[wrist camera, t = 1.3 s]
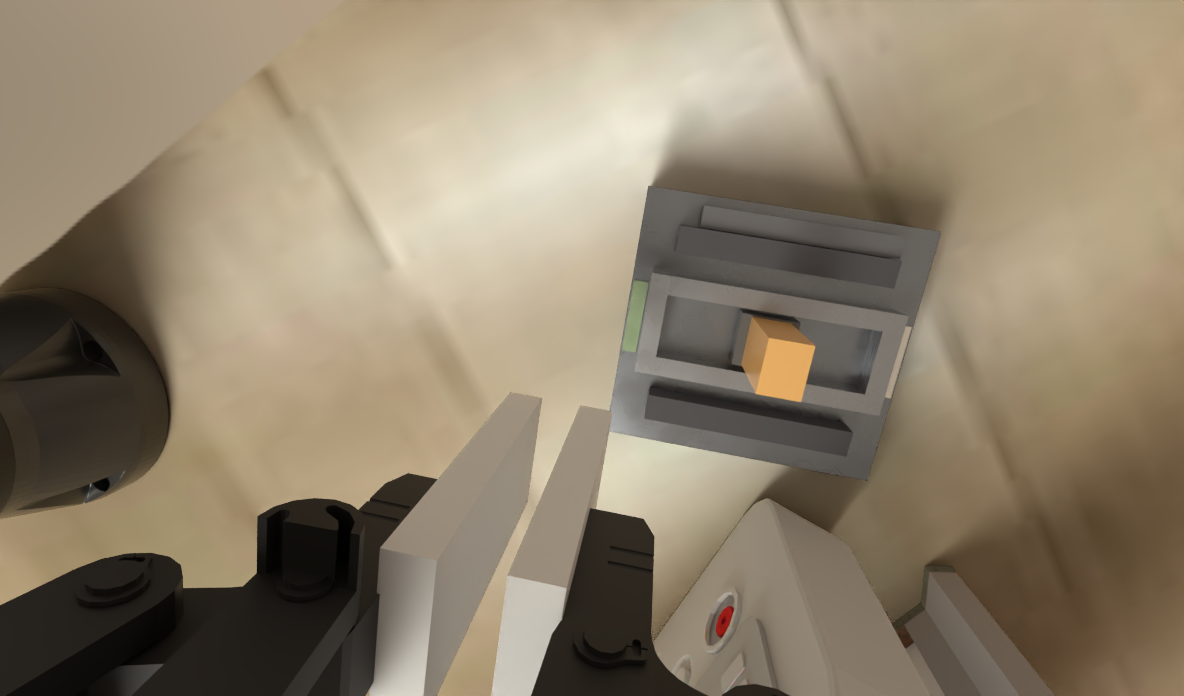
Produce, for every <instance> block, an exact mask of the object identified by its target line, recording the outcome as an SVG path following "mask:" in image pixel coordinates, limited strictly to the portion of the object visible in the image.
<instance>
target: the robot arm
mask: <svg viewBox="0 0 1184 696" xmlns="http://www.w3.org/2000/svg"><path fill="white" fill-rule="evenodd" d="M541 402H542V398H539V397H533V396H528V395H523V394H517V393H512V392H510V394H509V395H508V396H507V397H506V398H505V400H504V401H503V402H502V403H501V404H500V406H499V407H498V408H497V409H496V410H495V412H494V413H493V414H492V415H491V416H490V418H489V419H488V420H487V421H486V422H485V423H484V425H483V426H482V427H481V428H480V429H479V431H478V432H477V433H476V434H475V435H474V437H473V438H472V439H471V440H470V441H469V443H468V444H467V445H466V446H465V447H464V449H463V450H462V451H461V452H460V453H459V454H458V456H457V457H456V458H455V459H454V460H453V462H452V463H451V464H450V465H449V466H448V468H447V469H446V470H445V471H444V472H443V474H442V475H441V476H440V477H439V478H438V479H434V478H429V477H424V476H419V475H414V474H409V473H408V474H406V475H403V476H401V477H399V478H397V479H394V480H392V481H390V482H388V483H386V484H384V485H383V486H382V487H381V488H380V489H379V490H378V491H377V492H376V493H375V494H374V495H373V496H372V497H371V498H370V501H367V502H366V503H365V504H364V505H363V506H362V507H361V508H360V509H359V510H357V509H356V508H355V507H353V506H352V505H350V504H347V503H344V502H341V501H337V500H332V499H318V498H313V499H305V500H296V501H291V502H288V503H285V504H281V505H278V506H275V507H273V508H271V509H269V510H268V511H266V512H264V513H262V514H261V515H259V516H258V524H257V574H255V575H254V576H253V577H252V578H251V579H250V580H249V581H248V582H247V583H246V584H245V585H244V586H243V587H232V588H183V575H182V570H181V565H180V564H178V563H177V562H176V561H174V560H173V559H172V558H170V557H168V556H163V555H158V554H154V553H131V554H122V555H119V556H114V557H109V558H104V559H100V560H98V561H95V562H92V563H90V564H87V565H85V566H82V567H79V568H77V569H75V570H72V571H70V572H68V573H66V574H64V575H62V576H60V577H58V578H56V579H54V580H52V581H50V582H48V583H46V584H43V585H41V586H39V587H37V588H35V589H33V590H31V591H29V592H27V593H25V594H23V595H21V596H19V597H17V598H15V599H12V600H10V601H8V602H6V603H4V604H2V605H0V696H365V695H366V694H367V692H368V690H369V689H370V694H369V696H437V694H438V692H439V689H440V687H441V685H442V683H443V681H444V679H445V677H446V675H447V672H448V670H449V668H450V666H451V664H452V662H453V660H454V657H455V655H456V653H457V651H458V649H459V647H460V645H461V643H462V640H463V638H464V636H465V634H466V632H467V630H468V628H469V625H470V623H471V621H472V619H473V617H474V615H475V613H476V611H477V608H478V606H479V604H480V602H481V600H482V598H483V596H484V593H485V591H486V589H487V587H488V585H489V583H490V581H491V579H492V576H493V574H494V572H495V570H496V568H497V566H498V564H499V561H500V559H501V557H502V555H503V553H504V551H505V549H506V547H507V544H508V542H509V540H510V538H511V536H512V534H513V532H514V529H515V527H516V525H517V523H518V521H519V519H520V517H521V515H522V512H523V510H524V508H525V506H526V504H527V502H528V495H529V487H530V480H531V473H532V466H533V459H534V452H535V445H536V437H537V430H538V423H539V416H540V409H541ZM611 417H612V411H608V410H602V409H597V408H592V407H586V406H581V405H580V408H579V410H578V412H577V415H576V417H575V419H574V422H573V424H572V426H571V429H570V431H569V433H568V436H567V438H566V440H565V443H564V445H563V447H562V450H561V452H560V454H559V457H558V459H557V461H556V464H555V466H554V468H553V471H552V473H551V475H550V478H549V480H548V482H547V485H546V487H545V489H544V492H543V494H542V496H541V499H540V501H539V503H538V506H537V508H536V510H535V513H534V515H533V517H532V520H531V522H530V524H529V527H528V529H527V531H526V534H525V536H524V538H523V541H522V543H521V545H520V548H519V550H518V552H517V555H516V557H515V559H514V562H513V564H512V566H511V569H510V571H509V573H508V576H507V584H506V591H505V599H504V606H503V613H502V621H501V628H500V635H499V643H498V650H497V658H496V665H495V672H494V680H493V687H492V695H491V696H708V695H706V694H704V693H702V692H700V691H698V690H696V689H694V688H692V687H691V686H689V685H687V684H686V683H684V682H683V681H681V680H679V679H678V678H677V677H676V676H675V675H674V674H673V673H671V672H670V671H669V670H668V669H667V668H666V667H665V665H664V664H663V663H662V661H661V660H660V659H659V657H658V656H657V653H656V651H655V648H654V644H653V643H652V636H651V622H652V592H653V561H654V558H653V556H654V535H653V534H652V532H651V530H650V529H649V527H648V525H647V524H646V522H645V520H644V519H641V518H636V517H631V516H626V515H621V514H617V513H612V512H607V511H602V510H597V509H596V504H597V498H598V492H599V486H600V481H601V475H602V469H603V463H604V457H605V452H606V446H607V440H608V434H609V428H610V423H611ZM167 429H168V404H167V397H166V392H165V388H164V384H163V381H162V378H161V376H160V373H159V371H158V368H157V366H156V364H155V362H154V360H153V358H152V356H151V355H150V353H149V351H148V350H147V348H146V347H145V345H144V344H143V343H142V341H141V340H140V339H139V337H138V336H137V335H136V334H135V333H134V331H133V330H132V329H131V328H130V327H129V326H128V325H127V324H126V323H125V322H124V321H123V320H122V319H121V318H119V317H118V316H117V315H116V314H114V313H113V312H112V311H110V310H109V309H108V308H106V307H105V306H103V305H101V304H100V303H98V302H96V301H94V300H92V299H90V298H88V297H86V296H84V295H81V294H78V293H75V292H72V291H68V290H64V289H57V288H34V289H26V290H18V291H10V292H3V293H0V519H3V518H9V517H14V516H20V515H25V514H30V513H36V512H41V511H47V510H52V509H57V508H63V507H68V506H74V505H79V504H84V503H88V502H92V501H95V500H98V499H101V498H103V497H105V496H108V495H110V494H111V493H113V492H115V491H117V490H119V489H121V488H123V487H125V486H127V485H129V484H131V483H133V482H135V481H136V480H138V479H139V478H141V477H142V476H143V475H144V474H145V473H146V472H147V471H148V470H149V469H150V468H151V467H152V466H153V464H154V463H155V462H156V460H157V458H158V457H159V455H160V453H161V451H162V448H163V446H164V443H165V439H166V435H167ZM722 696H790V695H788V694H786V693H784V692H782V691H780V690H778V689H776V688H771V687H767V686H762V685H758V684H749V685H740V686H735V687H734V688H732V689H730V690H729V691H727V692H726V693H724V694H722Z"/></svg>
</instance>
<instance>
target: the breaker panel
mask: <svg viewBox="0 0 1184 696" xmlns="http://www.w3.org/2000/svg"><path fill="white" fill-rule="evenodd" d="M703 205H705V206H711V207H718V208H724V209H730V210H737V211H743V212H750V213H756V214H762V215H769V216H775V217H781V218H788V219H794V220H800V221H807V222H813V223H819V224H826V225H832V226H838V227H845V228H851V229H857V230H864V231H870V232H876V233H883V234H889V235H895V236H902V237H906V241H905V244H904V248H903V251H902V255H901V258H900V259H896V260H900V261H902V263H901V267H900V270H899V274H898V277H897V281H896V285H895V288H894V289H892V288H886V287H880V286H874V285H868V284H862V283H856V282H850V281H844V280H838V279H832V278H826V277H820V276H813V275H807V274H801V273H795V272H789V271H783V270H777V269H771V268H765V267H759V266H753V265H747V264H741V263H735V262H729V261H722V260H716V259H710V258H704V257H698V256H692V255H686V254H680V253H675V248H676V243H677V238H678V232H679V227H680V225H686V226H692V227H698V228H702V227H699V224H700V219H701V213H702V208H703ZM705 229H708V228H705ZM711 230H714V229H711ZM717 231H720V230H717ZM723 232H726V231H723ZM729 233H733V232H729ZM736 234H739V233H736ZM742 235H745V234H742ZM940 235H941V232H940V231H934V230H927V229H921V228H915V227H908V226H902V225H895V224H889V223H883V222H876V221H870V220H863V219H857V218H851V217H844V216H838V215H831V214H825V213H819V212H812V211H806V210H799V209H793V208H787V207H780V206H774V205H767V204H761V203H755V202H748V201H742V200H735V199H729V198H723V197H716V196H710V195H703V194H697V193H691V192H684V191H678V190H671V189H665V188H659V187H652V186H648V191H647V197H646V203H645V209H644V214H643V220H642V226H641V232H640V238H639V244H638V249H637V255H636V261H635V267H634V273H633V279H632V284H631V290H630V296H629V302H628V308H627V314H626V319H625V325H624V331H623V337H622V343H621V348H620V354H619V360H618V366H617V372H616V378H615V383H614V389H613V395H612V401H611V407H610V411H612V417H611V423H610V428H609V432H614V433H620V434H625V435H630V436H635V437H641V438H646V439H651V440H656V441H661V442H667V443H672V444H677V445H682V446H688V447H693V448H698V449H703V450H709V451H714V452H719V453H724V454H729V455H735V456H740V457H745V458H750V459H756V460H761V461H766V462H771V463H776V464H782V465H787V466H792V467H797V468H803V469H808V470H813V471H818V472H824V473H829V474H834V475H839V476H844V477H850V478H855V479H860V480H865V481H867V480H868V476H869V473H870V470H871V466H872V463H873V460H874V456H875V453H876V450H877V446H878V443H879V440H880V436H881V433H882V429H883V426H884V423H885V419H886V416H887V413H888V409H889V406H890V403H891V399H892V396H893V392H894V389H895V386H896V382H897V379H898V376H899V372H900V369H901V366H902V362H903V359H904V355H905V352H906V349H907V345H908V342H909V339H910V335H911V332H912V329H913V325H914V322H915V319H916V315H917V312H918V308H919V305H920V302H921V298H922V295H923V292H924V288H925V285H926V282H927V278H928V275H929V271H930V268H931V265H932V261H933V258H934V255H935V251H936V248H937V245H938V241H939V238H940ZM748 236H751V235H748ZM754 237H758V236H754ZM761 238H764V237H761ZM767 239H770V238H767ZM773 240H776V239H773ZM779 241H782V240H779ZM785 242H789V241H785ZM792 243H795V242H792ZM798 244H801V243H798ZM804 245H807V244H804ZM810 246H814V245H810ZM816 247H820V246H816ZM823 248H826V247H823ZM829 249H832V248H829ZM835 250H838V249H835ZM841 251H845V250H841ZM848 252H851V251H848ZM854 253H857V252H854ZM860 254H863V253H860ZM866 255H870V254H866ZM872 256H876V255H872ZM879 257H882V256H879ZM885 258H888V257H885ZM891 259H894V258H891ZM740 309H742V310H747V311H753V312H759V313H765V314H771V315H777V316H782V317H788V318H794V319H797V320H798V321H799V322H800V323H801V325H800V329H799V331H800V332H801V333H802V334H803V335H804V336H805V337H806V338H807V339H808V340H810V341H811V342H812V343H813V344H814V345H815V350H814V354H813V358H812V362H811V366H810V369H809V373H808V377H807V381H806V385H805V389H804V393H803V397H802V401H801V402H797V401H792V400H786V399H781V398H775V397H770V396H764V395H759V394H756V393H755V391H754V389H753V387H752V385H751V383H750V381H749V379H748V377H747V375H746V373H745V371H744V369H743V367H742V366H739V365H733V364H731V362H730V360H729V356H730V352H731V347H732V343H733V338H734V334H735V329H736V325H737V320H738V315H739V311H740ZM649 387H650V388H655V389H661V390H666V391H672V392H677V393H683V394H688V395H693V396H699V397H704V398H710V399H715V400H721V401H726V402H731V403H737V404H742V405H748V406H753V407H759V408H764V409H769V410H775V411H780V412H786V413H791V414H797V415H802V416H807V417H813V418H818V419H824V420H829V421H835V422H840V423H845V424H846V425H847V426H848V427H849V428H850V430H851V431H852V432H853V436H852V439H851V443H850V446H849V450H848V453H847V457H845V456H840V455H834V454H829V453H824V452H818V451H813V450H808V449H802V448H797V447H792V446H786V445H781V444H776V443H771V442H765V441H760V440H755V439H749V438H744V437H739V436H733V435H728V434H723V433H718V432H712V431H707V430H702V429H696V428H691V427H686V426H680V425H675V424H670V423H664V422H659V421H654V420H649V419H644V417H645V408H646V403H647V398H648V392H649Z"/></svg>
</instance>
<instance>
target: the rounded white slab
mask: <svg viewBox="0 0 1184 696" xmlns="http://www.w3.org/2000/svg"><path fill="white" fill-rule="evenodd" d="M653 644H654V648H655V651H656V653H657V656H658V657H659V659H660V660H661V661H662V663H663V664H664V665H665V667H666V668H667V669H668V670H669V671H670V672H671V673H673V674H674V675H675V676H676V677H677V678H678V679H679V680H681V681H683V682H684V683H686V684H687V685H689V686H691V687H692V688H694V689H696V690H698V691H700V692H702V693H704V694H706V695H708V696H722V694H724V693H726V692H727V691H729V690H730V689H732V688H734V687H735V686H740V685H749V684H758V685H762V686H767V687H771V688H776V689H778V690H780V691H782V692H784V693H786V694H788V695H790V696H930V694H929V692H928V690H927V688H926V686H925V685H924V683H923V681H922V679H921V677H920V675H919V674H918V672H917V670H916V668H915V666H914V664H913V663H912V661H911V659H910V657H909V655H908V653H907V652H906V650H905V648H904V646H903V644H902V642H901V641H900V639H899V637H898V635H897V633H896V631H895V629H894V628H893V626H892V624H891V622H890V620H889V618H888V617H887V615H886V613H885V611H884V609H883V607H882V606H881V604H880V602H879V600H878V598H877V596H876V595H875V593H874V591H873V589H872V587H871V585H870V584H869V582H868V580H867V578H866V576H865V574H864V573H863V571H862V569H861V567H860V565H859V563H858V562H857V560H856V558H855V556H854V554H853V552H852V551H851V549H850V547H849V546H848V545H847V544H846V543H845V542H843V541H842V540H841V539H839V538H838V537H836V536H834V535H832V534H831V533H829V532H827V531H825V530H824V529H822V528H820V527H818V526H817V525H815V524H813V523H811V522H809V521H808V520H806V519H804V518H802V517H801V516H799V515H797V514H795V513H794V512H792V511H790V510H788V509H787V508H785V507H783V506H781V505H780V504H778V503H776V502H774V501H772V500H771V499H769V498H767V499H764V500H761V501H759V502H756V503H755V504H754V505H753V506H752V507H751V508H750V509H749V510H748V511H747V512H746V514H745V515H744V516H743V517H742V518H741V520H740V521H739V523H738V524H737V525H736V527H735V528H734V530H733V531H732V532H731V534H730V535H729V537H728V538H727V539H726V541H725V542H724V544H723V545H722V546H721V548H720V549H719V551H718V552H717V553H716V555H715V556H714V558H713V559H712V560H711V562H710V563H709V565H708V566H707V567H706V569H705V570H704V572H703V573H702V574H701V576H700V577H699V579H698V580H697V581H696V583H695V584H694V586H693V587H692V588H691V590H690V591H689V593H688V594H687V595H686V597H685V598H684V600H683V601H682V602H681V604H680V605H679V607H678V608H677V609H676V611H675V612H674V613H673V615H672V616H671V618H670V619H669V620H668V622H667V623H666V625H665V626H664V627H663V629H662V630H661V632H660V633H659V634H658V636H657V637H656V639H655V640H654V641H653Z"/></svg>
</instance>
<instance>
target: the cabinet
mask: <svg viewBox="0 0 1184 696" xmlns="http://www.w3.org/2000/svg"><path fill="white" fill-rule="evenodd" d="M892 626H893V628H894V629H895V631H896V633H897V635H898V637H899V639H900V641H901V642H902V644H903V646H904V648H905V650H906V652H907V653H908V655H909V657H910V659H911V661H912V663H913V664H914V666H915V668H916V670H917V672H918V674H919V675H920V677H921V679H922V681H923V683H924V685H925V686H926V688H927V690H928V692H929V694H930V696H1055V695H1054V694H1053V692H1052V691H1051V690H1050V689H1049V687H1048V686H1047V685H1046V684H1045V682H1044V681H1043V680H1042V679H1041V677H1040V676H1039V675H1038V674H1037V672H1036V671H1035V670H1034V669H1033V667H1032V666H1031V665H1030V664H1029V662H1028V661H1027V660H1026V659H1025V657H1024V656H1023V655H1022V654H1021V652H1020V651H1019V650H1018V649H1017V647H1016V646H1015V645H1014V644H1013V642H1012V641H1011V640H1010V639H1009V637H1008V636H1007V635H1006V634H1005V632H1004V631H1003V630H1002V629H1001V627H1000V626H999V625H998V624H997V622H996V621H995V620H994V619H993V617H992V616H991V615H990V614H989V612H988V611H987V610H986V609H985V607H984V606H983V605H982V604H981V602H980V601H979V600H978V599H977V597H976V596H975V595H974V594H973V592H972V591H971V590H970V589H969V587H968V586H967V585H966V584H965V583H964V581H963V580H962V579H961V578H960V576H959V575H958V574H957V573H956V571H955V570H954V569H953V568H952V567H951V566H925V569H924V578H923V588H922V598H921V603H920V604H918V605H917V606H916V607H914V608H913V609H911V610H910V611H909V612H907V613H906V614H905V615H903V616H902V617H901V618H899V619H898V620H897V621H895V622H894V623H893V624H892Z"/></svg>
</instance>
